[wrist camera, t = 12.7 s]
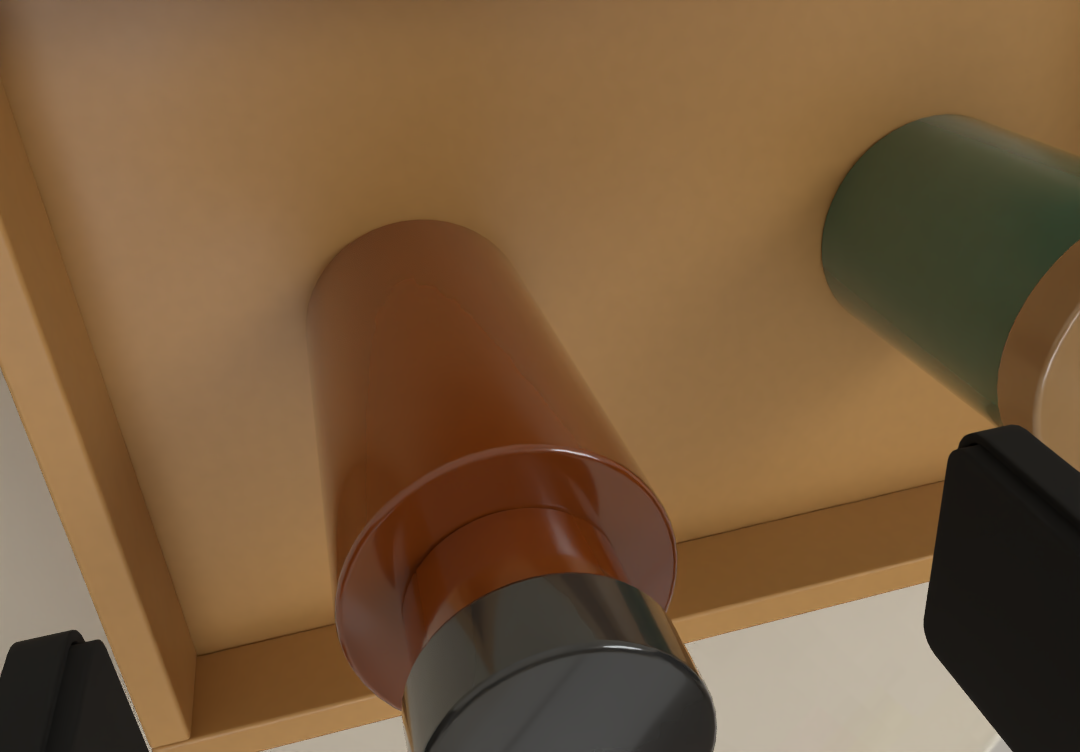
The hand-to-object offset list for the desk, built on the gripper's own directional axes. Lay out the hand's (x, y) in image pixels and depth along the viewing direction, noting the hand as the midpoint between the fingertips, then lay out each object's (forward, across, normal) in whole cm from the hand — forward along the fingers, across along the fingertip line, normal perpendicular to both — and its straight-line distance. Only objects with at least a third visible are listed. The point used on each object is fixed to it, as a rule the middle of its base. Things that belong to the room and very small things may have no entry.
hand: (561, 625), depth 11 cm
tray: (+11, -5, +1) cm, 12 cm away
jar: (+10, -11, +1) cm, 15 cm away
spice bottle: (+10, 0, +1) cm, 10 cm away
